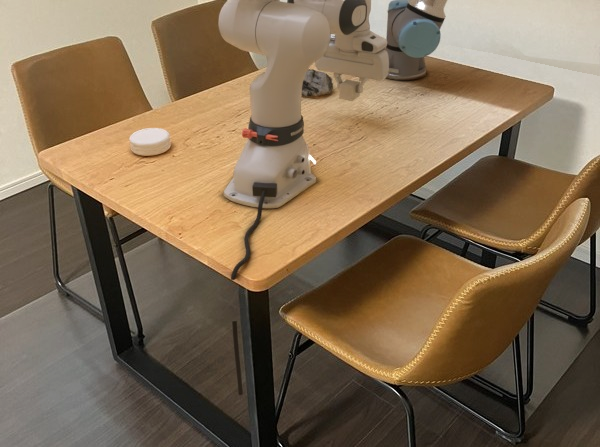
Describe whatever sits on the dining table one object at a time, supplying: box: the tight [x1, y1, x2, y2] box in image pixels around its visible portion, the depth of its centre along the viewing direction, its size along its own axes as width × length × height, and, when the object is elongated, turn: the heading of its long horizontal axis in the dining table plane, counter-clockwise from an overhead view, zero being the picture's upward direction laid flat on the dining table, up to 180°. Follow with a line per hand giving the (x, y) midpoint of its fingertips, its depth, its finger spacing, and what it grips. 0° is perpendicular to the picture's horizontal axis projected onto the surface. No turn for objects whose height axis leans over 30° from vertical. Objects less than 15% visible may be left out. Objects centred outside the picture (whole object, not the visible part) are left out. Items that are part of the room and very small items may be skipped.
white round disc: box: [128, 127, 172, 157], centre depth 156 cm, size 10×10×4 cm
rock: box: [302, 68, 334, 97], centre depth 188 cm, size 15×10×7 cm
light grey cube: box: [338, 79, 361, 102], centre depth 166 cm, size 4×4×4 cm
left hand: (350, 90), depth 166 cm, fingers closed on light grey cube, 4 cm apart
